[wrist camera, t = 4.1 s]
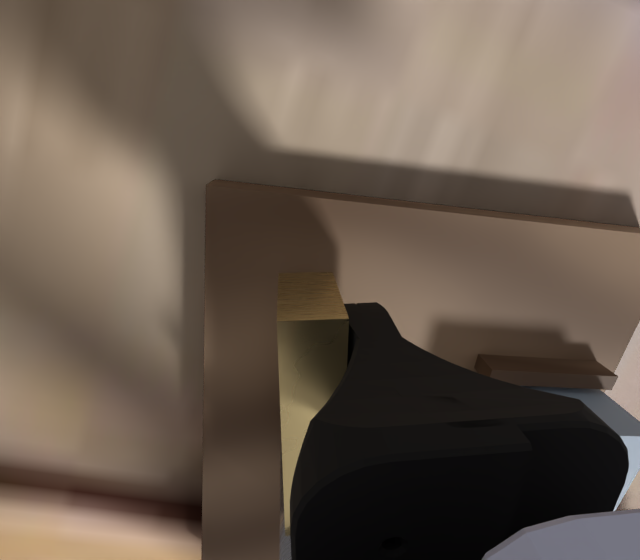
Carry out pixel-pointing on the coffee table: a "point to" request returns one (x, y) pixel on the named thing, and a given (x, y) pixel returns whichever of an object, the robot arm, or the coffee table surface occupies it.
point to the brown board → (391, 315)
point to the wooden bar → (305, 367)
